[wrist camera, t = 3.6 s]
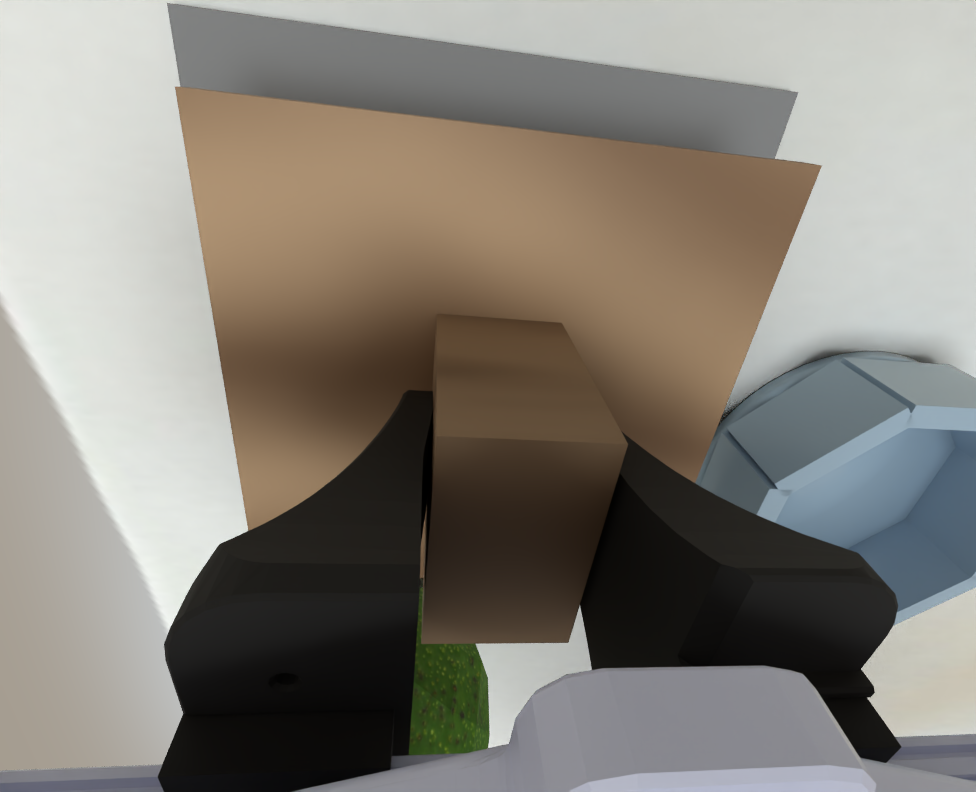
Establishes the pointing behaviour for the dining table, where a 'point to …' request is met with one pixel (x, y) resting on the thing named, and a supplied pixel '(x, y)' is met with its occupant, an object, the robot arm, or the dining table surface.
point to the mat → (472, 83)
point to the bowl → (863, 466)
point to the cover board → (466, 244)
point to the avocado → (448, 698)
